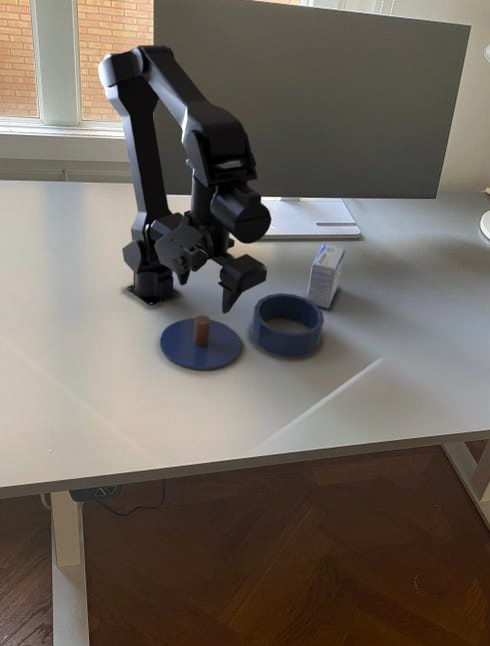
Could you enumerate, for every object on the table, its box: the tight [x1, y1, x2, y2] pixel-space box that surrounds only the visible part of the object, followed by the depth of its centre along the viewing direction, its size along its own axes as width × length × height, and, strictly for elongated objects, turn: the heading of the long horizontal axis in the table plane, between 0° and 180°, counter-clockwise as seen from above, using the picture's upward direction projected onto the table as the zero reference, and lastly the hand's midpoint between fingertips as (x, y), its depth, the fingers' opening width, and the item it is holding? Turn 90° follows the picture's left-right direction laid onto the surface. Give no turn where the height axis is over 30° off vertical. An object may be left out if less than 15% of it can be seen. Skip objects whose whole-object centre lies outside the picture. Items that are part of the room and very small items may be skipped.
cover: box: [159, 314, 242, 371], centre depth 114 cm, size 13×13×6 cm
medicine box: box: [306, 244, 346, 309], centre depth 132 cm, size 8×4×9 cm, turn 168°
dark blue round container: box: [250, 292, 325, 357], centre depth 121 cm, size 12×12×5 cm
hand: (204, 298), depth 110 cm, fingers open, 9 cm apart
